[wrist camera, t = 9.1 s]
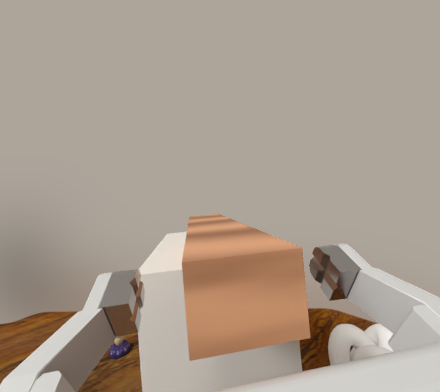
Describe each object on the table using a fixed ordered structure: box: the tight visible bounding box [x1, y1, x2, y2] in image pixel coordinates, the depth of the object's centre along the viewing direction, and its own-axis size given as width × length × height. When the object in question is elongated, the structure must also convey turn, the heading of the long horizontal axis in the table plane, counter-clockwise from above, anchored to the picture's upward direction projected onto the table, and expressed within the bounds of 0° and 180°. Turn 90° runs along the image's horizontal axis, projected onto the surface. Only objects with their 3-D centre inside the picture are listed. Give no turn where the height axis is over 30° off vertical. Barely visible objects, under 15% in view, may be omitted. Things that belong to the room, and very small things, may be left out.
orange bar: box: [182, 214, 310, 361], centre depth 17 cm, size 22×4×3 cm, turn 8°
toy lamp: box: [109, 336, 131, 359], centre depth 44 cm, size 5×5×17 cm
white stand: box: [138, 232, 302, 392], centre depth 25 cm, size 20×12×26 cm, turn 8°
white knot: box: [328, 324, 394, 365], centre depth 31 cm, size 11×12×9 cm
